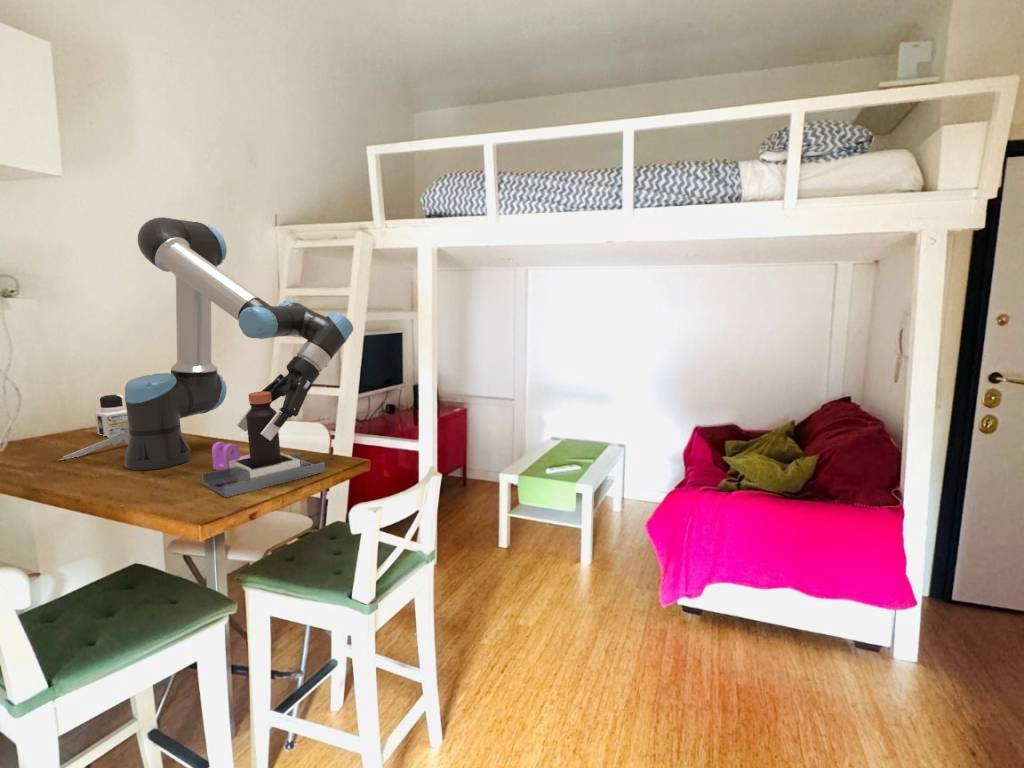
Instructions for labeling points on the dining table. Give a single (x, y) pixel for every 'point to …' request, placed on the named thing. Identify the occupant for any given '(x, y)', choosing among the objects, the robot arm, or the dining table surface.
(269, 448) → the vinegar
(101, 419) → the container
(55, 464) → the dining table surface
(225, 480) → the grey base plate
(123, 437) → the caliper
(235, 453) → the bracket
